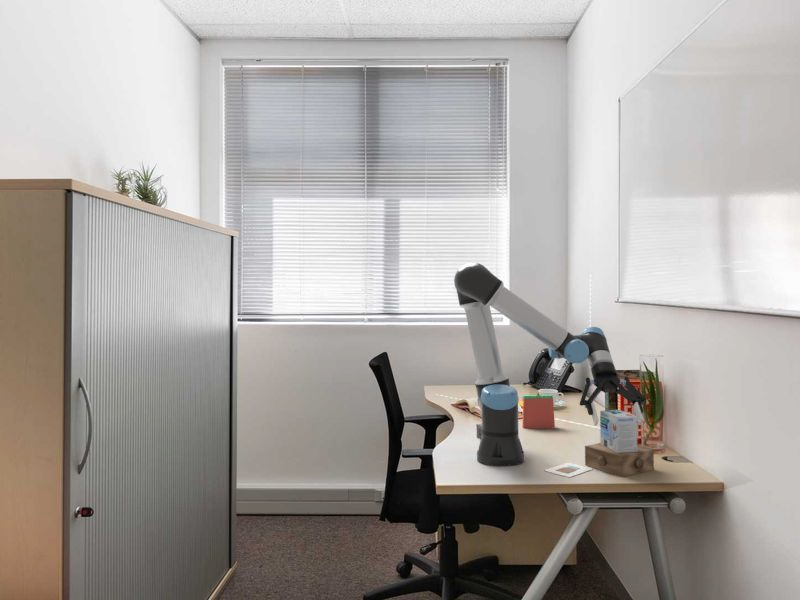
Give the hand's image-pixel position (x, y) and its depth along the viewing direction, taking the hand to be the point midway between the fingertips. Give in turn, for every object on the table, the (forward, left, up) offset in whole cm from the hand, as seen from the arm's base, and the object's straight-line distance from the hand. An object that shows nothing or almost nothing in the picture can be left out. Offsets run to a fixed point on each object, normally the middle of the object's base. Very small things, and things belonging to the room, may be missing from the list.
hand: (618, 422), depth 186 cm
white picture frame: (-15, +6, -14) cm, 21 cm away
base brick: (0, 0, -14) cm, 14 cm away
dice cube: (-11, +52, -14) cm, 55 cm away
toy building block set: (+25, +69, -14) cm, 75 cm away
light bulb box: (0, 0, -8) cm, 8 cm away
